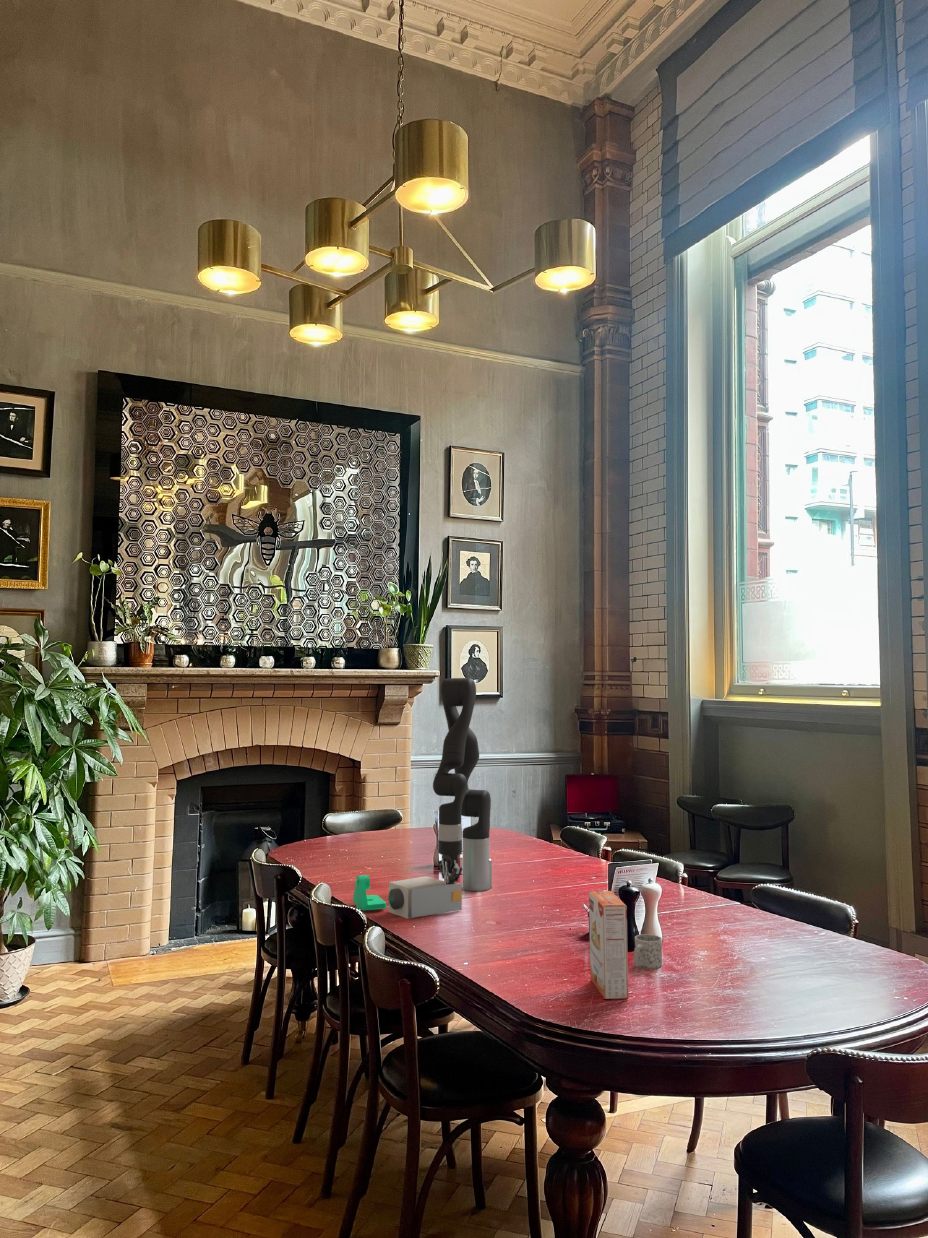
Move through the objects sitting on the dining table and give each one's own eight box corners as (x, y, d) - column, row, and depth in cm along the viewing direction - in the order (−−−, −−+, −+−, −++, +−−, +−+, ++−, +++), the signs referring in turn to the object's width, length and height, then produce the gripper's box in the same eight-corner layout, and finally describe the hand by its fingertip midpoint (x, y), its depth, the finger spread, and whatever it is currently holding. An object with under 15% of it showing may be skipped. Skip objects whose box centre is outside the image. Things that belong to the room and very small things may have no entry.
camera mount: (387, 912, 283) (387, 878, 283) (362, 914, 280) (363, 880, 281) (376, 903, 294) (376, 870, 295) (353, 905, 291) (353, 872, 292)
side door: (459, 909, 283) (459, 882, 284) (462, 910, 282) (462, 883, 282) (408, 917, 274) (408, 890, 274) (411, 918, 272) (411, 891, 273)
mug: (643, 959, 234) (642, 933, 235) (666, 964, 230) (666, 937, 231) (623, 969, 227) (623, 941, 227) (647, 974, 223) (647, 946, 223)
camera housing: (425, 905, 290) (425, 876, 291) (445, 911, 283) (445, 881, 283) (384, 913, 281) (385, 883, 281) (403, 919, 273) (403, 888, 273)
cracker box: (588, 980, 218) (587, 890, 219) (613, 979, 219) (612, 890, 220) (602, 1001, 204) (601, 905, 206) (629, 1000, 205) (628, 904, 206)
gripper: (470, 840, 281) (470, 898, 281) (452, 833, 293) (451, 888, 293) (447, 842, 278) (447, 901, 277) (430, 835, 290) (430, 891, 289)
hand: (449, 894), depth 285 cm, fingers closed
